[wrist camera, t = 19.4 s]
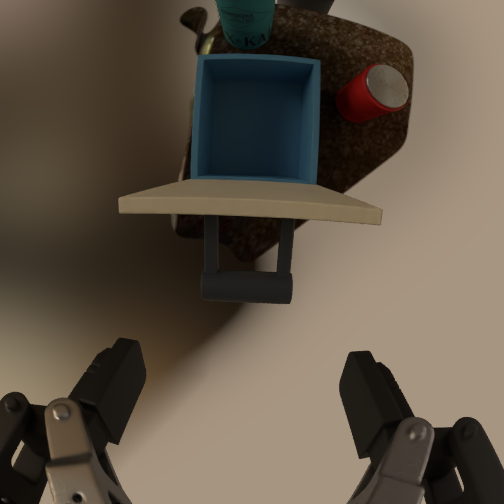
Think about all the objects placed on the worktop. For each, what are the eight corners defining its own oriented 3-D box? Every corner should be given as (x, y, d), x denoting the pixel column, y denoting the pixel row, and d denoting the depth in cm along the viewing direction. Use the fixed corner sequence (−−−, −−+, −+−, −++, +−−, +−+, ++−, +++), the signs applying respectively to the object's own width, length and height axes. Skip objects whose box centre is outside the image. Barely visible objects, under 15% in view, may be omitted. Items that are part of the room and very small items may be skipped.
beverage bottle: (225, 21, 28) (203, -68, 9) (272, 20, 28) (282, -70, 9) (223, 56, 30) (195, -29, 11) (272, 56, 30) (286, -32, 11)
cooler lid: (118, 197, 12) (129, 308, 14) (383, 209, 12) (361, 319, 14) (189, 179, 26) (189, 237, 28) (317, 184, 26) (312, 242, 28)
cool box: (210, 77, 31) (198, 54, 22) (306, 81, 31) (320, 60, 22) (205, 178, 35) (190, 182, 27) (302, 182, 35) (316, 188, 27)
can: (335, 83, 31) (363, 56, 20) (371, 90, 31) (409, 70, 20) (334, 119, 32) (364, 103, 22) (371, 126, 32) (411, 115, 22)
